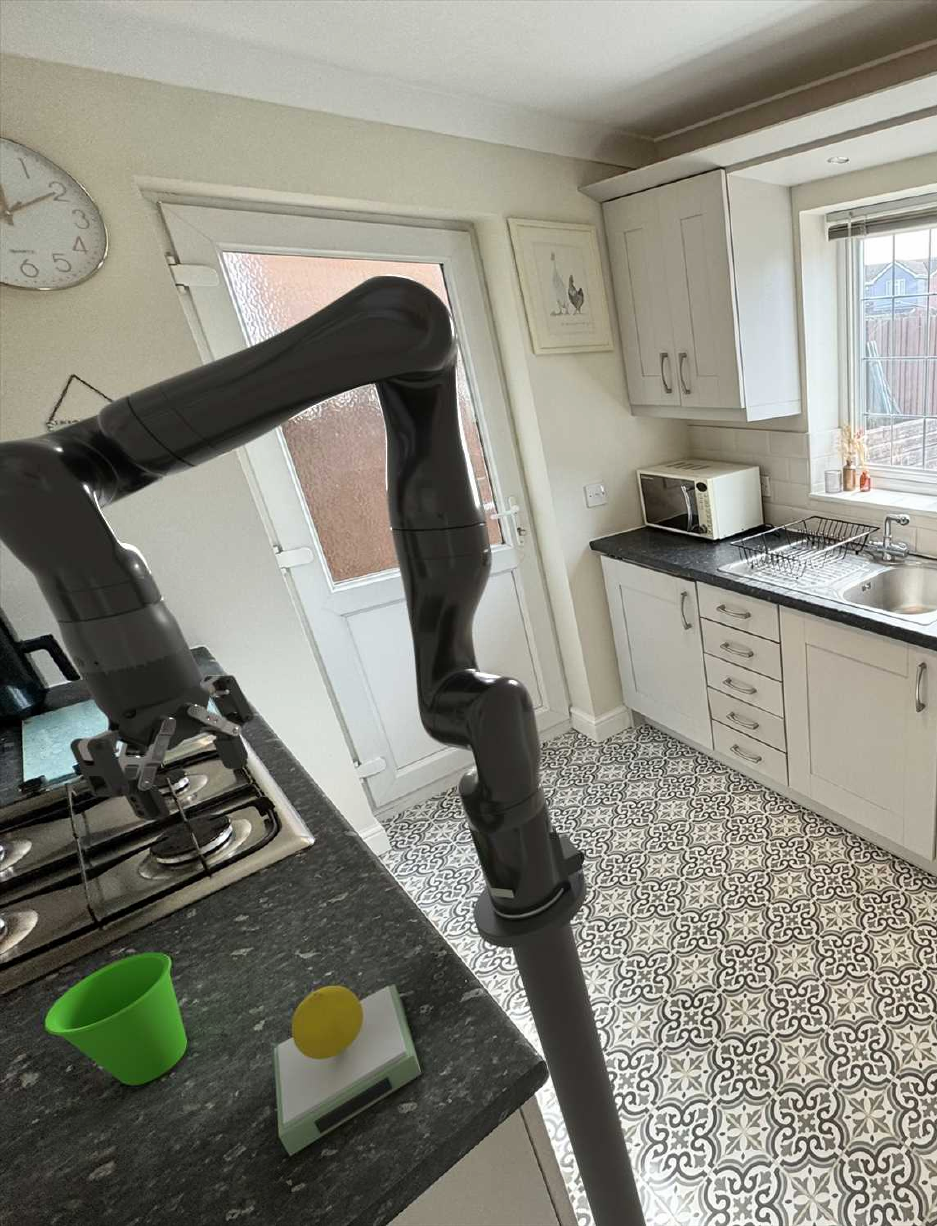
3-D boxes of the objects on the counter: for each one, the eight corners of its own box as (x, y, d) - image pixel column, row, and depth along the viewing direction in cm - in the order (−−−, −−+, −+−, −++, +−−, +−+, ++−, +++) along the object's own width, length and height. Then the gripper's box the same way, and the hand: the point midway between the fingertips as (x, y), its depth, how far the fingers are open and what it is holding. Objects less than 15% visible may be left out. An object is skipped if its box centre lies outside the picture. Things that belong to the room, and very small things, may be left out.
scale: (401, 1001, 74) (392, 979, 73) (422, 1075, 66) (412, 1052, 65) (283, 1067, 68) (271, 1044, 66) (290, 1158, 60) (276, 1135, 58)
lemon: (324, 1087, 62) (296, 1031, 59) (297, 1060, 65) (269, 1005, 62) (383, 1037, 66) (360, 983, 63) (355, 1014, 69) (331, 960, 66)
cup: (213, 1060, 69) (171, 988, 65) (92, 1127, 63) (37, 1053, 59) (209, 1005, 75) (170, 936, 71) (98, 1062, 69) (49, 991, 65)
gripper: (83, 687, 54) (163, 838, 60) (236, 622, 67) (290, 752, 73) (4, 687, 55) (92, 837, 61) (172, 623, 68) (230, 752, 74)
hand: (200, 790), depth 67 cm, fingers open, 8 cm apart
